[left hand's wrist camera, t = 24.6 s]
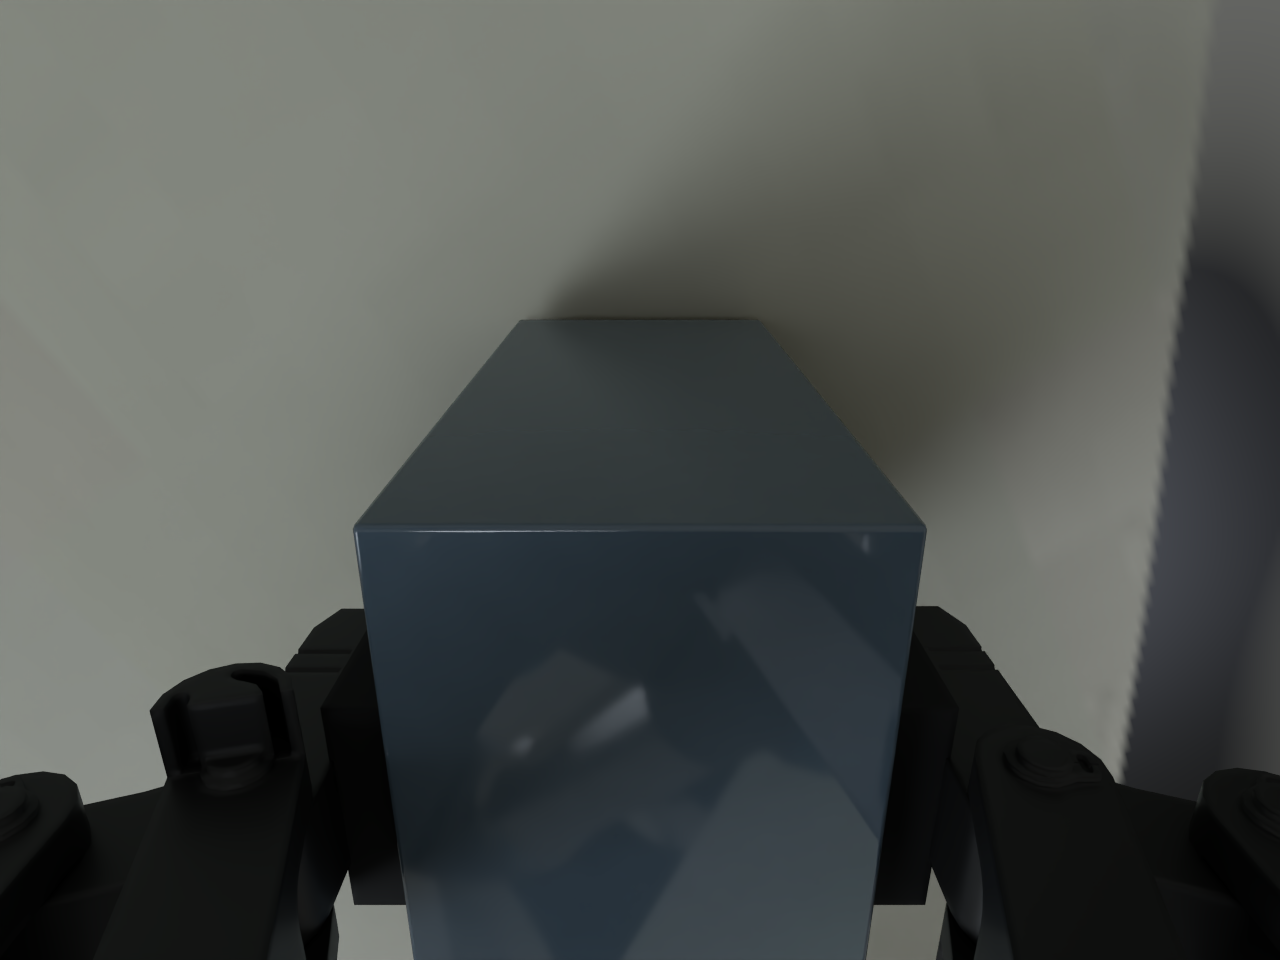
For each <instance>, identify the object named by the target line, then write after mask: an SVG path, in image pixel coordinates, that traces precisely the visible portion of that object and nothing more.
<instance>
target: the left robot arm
mask: <svg viewBox="0 0 1280 960" xmlns="http://www.w3.org/2000/svg"><path fill="white" fill-rule="evenodd" d="M150 714H151V718H152V722H153V725H154V729H155V733H156V737H157V740H158V744H159V748H160V752H161V755H162V759H163V763H164V767H165V771H166V774H167V780H166V782H165V785H164V786H163V787H160V788H156V789H153V790H149V791H146V792H142V793H137V794H132V795H128V796H123V797H119V798H114V799H109V800H105V801H100V802H96V803H91V804H87V805H83V802H82V799H81V796H80V793H79V789H78V786H77V784H76V783H75V782H73V781H72V780H71V779H70V778H68V777H67V776H66V775H64V774H57V773H50V772H44V771H43V772H35V773H28V774H20V775H14V776H11V777H7V778H3V779H1V780H0V960H337V953H338V943H339V933H338V926H337V919H336V914H335V909H334V902H335V900H336V897H337V895H338V892H339V890H340V888H341V885H342V883H343V880H344V878H345V876H346V873H347V871H349V877H350V883H351V889H352V894H353V900H354V905H406V901H405V894H404V887H403V880H402V873H401V866H400V859H399V852H398V845H397V838H396V830H395V823H394V816H393V809H392V802H391V795H390V788H389V781H388V774H387V767H386V760H385V753H384V746H383V738H382V731H381V724H380V717H379V710H378V703H377V696H376V689H375V682H374V675H373V668H372V661H371V654H370V646H369V639H368V632H367V625H366V618H365V611H364V609H341V610H339V611H338V612H336V613H335V614H333V615H332V616H330V617H329V618H327V619H326V620H324V621H323V622H322V623H320V624H319V625H317V626H316V627H314V628H313V630H312V631H311V633H310V634H309V635H308V637H307V638H306V640H305V641H304V642H303V644H302V645H301V647H300V648H299V649H298V654H295V655H294V656H293V658H292V659H291V661H290V662H289V663H288V665H287V666H286V668H285V671H284V670H283V669H281V668H280V667H277V666H272V665H268V664H264V663H237V664H232V665H227V666H223V667H219V668H214V669H210V670H207V671H205V672H202V673H200V674H198V675H195V676H193V677H190V678H188V679H186V680H183V681H182V682H180V683H179V684H178V685H176V686H175V687H173V688H172V689H170V690H169V691H167V692H166V693H164V694H163V695H162V696H161V697H160V698H159V700H158V701H157V702H156V703H155V704H154V706H153V707H152V708H151V709H150ZM931 868H933V871H934V873H935V875H936V878H937V880H938V883H939V885H940V887H941V890H942V892H943V895H944V897H945V899H946V902H947V903H946V909H945V914H944V919H943V925H942V930H941V935H940V941H939V946H938V952H937V957H936V960H1280V776H1279V775H1275V774H1271V773H1268V772H1265V771H1257V770H1249V769H1242V768H1233V769H1226V770H1219V771H1215V772H1214V773H1213V774H1211V775H1210V776H1209V777H1208V778H1206V779H1205V780H1204V781H1203V784H1202V787H1201V790H1200V794H1199V797H1198V800H1197V802H1195V801H1191V800H1186V799H1181V798H1177V797H1172V796H1167V795H1163V794H1158V793H1154V792H1149V791H1144V790H1140V789H1135V788H1132V787H1128V786H1125V785H1121V784H1118V783H1115V781H1114V778H1113V776H1112V775H1111V773H1110V772H1109V771H1108V769H1107V768H1106V766H1105V765H1104V763H1103V762H1102V760H1101V759H1100V758H1098V757H1097V756H1096V755H1094V754H1093V753H1092V752H1091V751H1089V750H1088V749H1087V748H1085V747H1084V746H1083V745H1082V744H1080V743H1078V742H1076V741H1074V740H1071V739H1069V738H1067V737H1065V736H1063V735H1061V734H1059V733H1057V732H1053V731H1049V730H1046V729H1042V728H1039V726H1038V725H1037V724H1036V722H1035V721H1034V719H1033V718H1032V717H1031V715H1030V714H1029V712H1028V711H1027V710H1026V708H1025V707H1024V705H1023V704H1022V703H1021V701H1020V700H1019V698H1018V697H1017V696H1016V694H1015V693H1014V692H1013V690H1012V689H1011V687H1010V686H1009V685H1008V683H1007V682H1006V680H1005V679H1004V678H1003V676H1002V675H1001V673H1000V672H999V671H998V670H995V668H994V664H993V662H992V661H991V659H990V658H989V657H988V655H987V654H986V653H985V651H982V650H981V646H980V644H979V643H978V641H977V640H976V639H975V637H974V636H973V634H972V633H971V632H970V630H969V629H968V627H967V626H966V625H965V624H963V623H962V622H961V621H959V620H958V619H956V618H955V617H953V616H952V615H950V614H949V613H947V612H946V611H944V610H943V609H941V608H940V607H938V606H916V610H915V617H914V624H913V631H912V638H911V645H910V652H909V659H908V666H907V673H906V680H905V688H904V695H903V702H902V709H901V716H900V723H899V730H898V737H897V744H896V751H895V758H894V765H893V772H892V779H891V786H890V793H889V800H888V807H887V814H886V821H885V828H884V835H883V842H882V849H881V857H880V864H879V871H878V878H877V885H876V892H875V899H874V905H925V903H926V897H927V891H928V885H929V880H930V874H931Z"/></svg>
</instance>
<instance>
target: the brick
mask: <svg viewBox="0 0 1280 960" xmlns="http://www.w3.org/2000/svg"><path fill="white" fill-rule="evenodd" d="M353 533H354V540H355V547H356V554H357V562H358V569H359V576H360V583H361V590H362V597H363V604H364V611H365V618H366V625H367V632H368V639H369V646H370V654H371V661H372V668H373V675H374V682H375V689H376V696H377V703H378V710H379V717H380V724H381V731H382V738H383V746H384V753H385V760H386V767H387V774H388V781H389V788H390V795H391V802H392V809H393V816H394V823H395V830H396V838H397V845H398V852H399V859H400V866H401V873H402V880H403V887H404V894H405V901H406V908H407V915H408V922H409V930H410V937H411V944H412V951H413V958H414V960H866V955H867V948H868V941H869V934H870V927H871V920H872V913H873V906H874V899H875V892H876V885H877V878H878V871H879V864H880V857H881V849H882V842H883V835H884V828H885V821H886V814H887V807H888V800H889V793H890V786H891V779H892V772H893V765H894V758H895V751H896V744H897V737H898V730H899V723H900V716H901V709H902V702H903V695H904V688H905V680H906V673H907V666H908V659H909V652H910V645H911V638H912V631H913V624H914V617H915V610H916V603H917V596H918V589H919V582H920V575H921V568H922V561H923V554H924V547H925V540H926V533H927V528H926V525H925V524H924V522H923V521H922V520H921V519H920V517H919V516H918V515H917V514H916V512H915V511H914V510H913V509H912V508H911V506H910V505H909V504H908V503H907V501H906V500H905V499H904V498H903V496H902V495H901V494H900V493H899V492H898V490H897V489H896V488H895V487H894V485H893V484H892V483H891V482H890V480H889V479H888V478H887V477H886V476H885V474H884V473H883V472H882V471H881V469H880V468H879V467H878V466H877V464H876V463H875V462H874V461H873V459H872V458H871V457H870V456H869V455H868V453H867V452H866V451H865V450H864V448H863V447H862V446H861V445H860V443H859V442H858V441H857V440H856V439H855V437H854V436H853V435H852V434H851V432H850V431H849V430H848V429H847V427H846V426H845V425H844V424H843V423H842V421H841V420H840V419H839V418H838V416H837V415H836V414H835V413H834V411H833V410H832V409H831V408H830V406H829V405H828V404H827V403H826V402H825V400H824V399H823V398H822V397H821V395H820V394H819V393H818V392H817V390H816V389H815V388H814V387H813V386H812V384H811V383H810V382H809V381H808V379H807V378H806V377H805V376H804V374H803V373H802V372H801V371H800V370H799V368H798V367H797V366H796V365H795V363H794V362H793V361H792V360H791V358H790V357H789V356H788V355H787V353H786V352H785V351H784V350H783V349H782V347H781V346H780V345H779V344H778V342H777V341H776V340H775V339H774V337H773V336H772V335H771V334H770V333H769V331H768V330H767V329H766V328H765V326H764V325H763V324H762V323H761V321H759V320H520V321H519V322H518V323H517V324H516V325H515V327H514V328H513V329H512V330H511V332H510V333H509V334H508V335H507V337H506V338H505V339H504V340H503V342H502V343H501V344H500V345H499V347H498V348H497V349H496V350H495V351H494V353H493V354H492V355H491V356H490V358H489V359H488V360H487V361H486V363H485V364H484V365H483V366H482V368H481V369H480V370H479V371H478V373H477V374H476V375H475V376H474V377H473V379H472V380H471V381H470V382H469V384H468V385H467V386H466V387H465V389H464V390H463V391H462V392H461V394H460V395H459V396H458V397H457V398H456V400H455V401H454V402H453V403H452V405H451V406H450V407H449V408H448V410H447V411H446V412H445V413H444V415H443V416H442V417H441V418H440V420H439V421H438V422H437V423H436V424H435V426H434V427H433V428H432V429H431V431H430V432H429V433H428V434H427V436H426V437H425V438H424V439H423V441H422V442H421V443H420V444H419V446H418V447H417V448H416V449H415V450H414V452H413V453H412V454H411V455H410V457H409V458H408V459H407V460H406V462H405V463H404V464H403V465H402V467H401V468H400V469H399V470H398V471H397V473H396V474H395V475H394V476H393V478H392V479H391V480H390V481H389V483H388V484H387V485H386V486H385V488H384V489H383V490H382V491H381V493H380V494H379V495H378V496H377V497H376V499H375V500H374V501H373V502H372V504H371V505H370V506H369V507H368V509H367V510H366V511H365V512H364V514H363V515H362V516H361V517H360V519H359V520H358V521H357V522H356V523H355V525H354V528H353Z"/></svg>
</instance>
